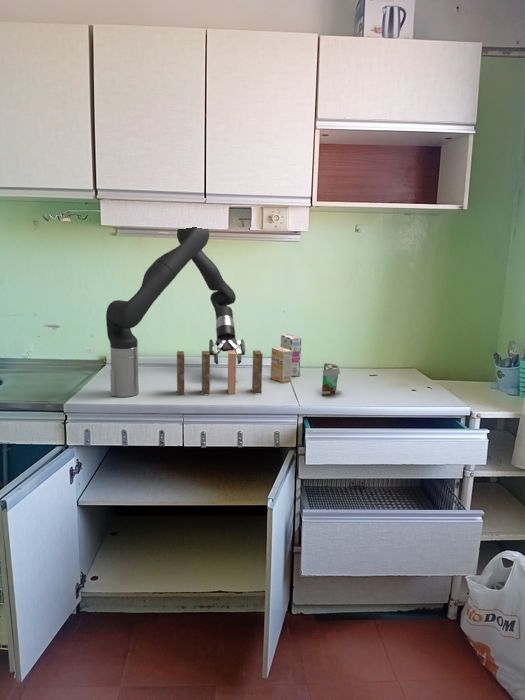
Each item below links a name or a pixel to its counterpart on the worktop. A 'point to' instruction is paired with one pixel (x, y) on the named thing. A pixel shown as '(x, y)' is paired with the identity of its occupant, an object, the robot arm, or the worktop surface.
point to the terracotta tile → (231, 372)
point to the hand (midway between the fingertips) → (228, 363)
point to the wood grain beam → (257, 371)
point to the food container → (330, 379)
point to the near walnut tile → (180, 372)
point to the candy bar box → (294, 345)
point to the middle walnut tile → (205, 372)
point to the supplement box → (281, 364)
